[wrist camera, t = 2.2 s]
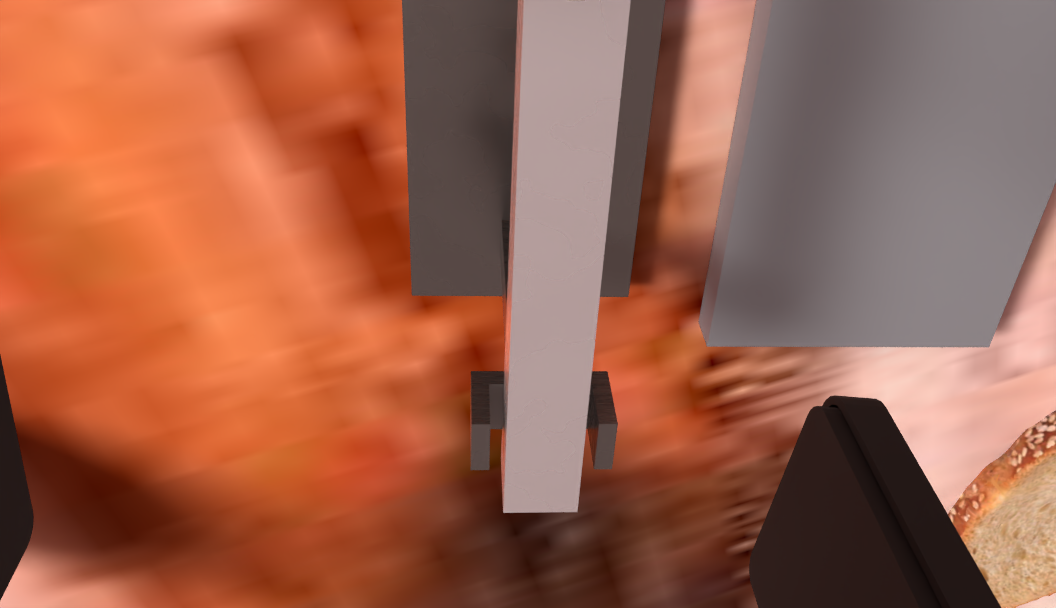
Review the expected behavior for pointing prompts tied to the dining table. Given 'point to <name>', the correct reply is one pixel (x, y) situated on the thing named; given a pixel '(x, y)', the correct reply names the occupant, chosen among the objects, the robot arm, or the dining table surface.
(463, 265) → the rack
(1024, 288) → the dining table surface
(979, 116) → the board
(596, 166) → the rail
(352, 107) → the dining table surface
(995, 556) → the bread slice
